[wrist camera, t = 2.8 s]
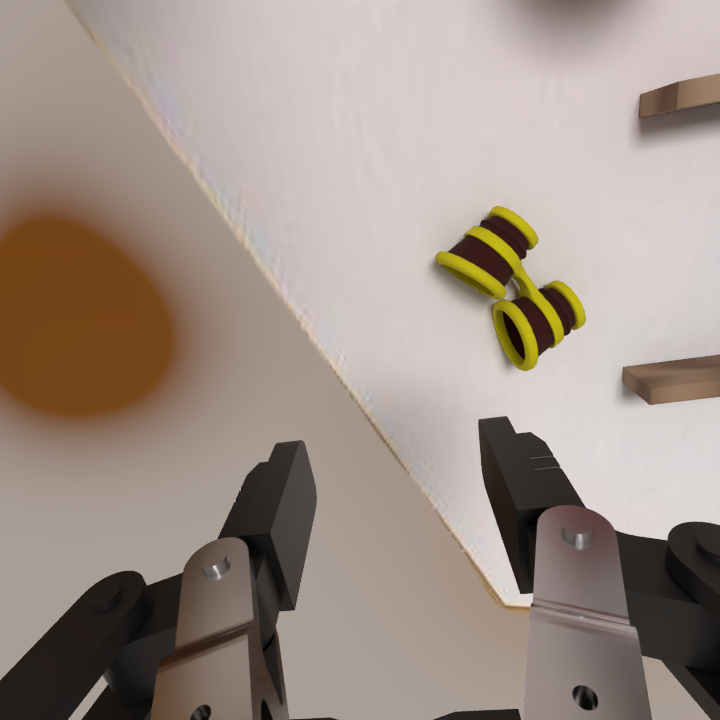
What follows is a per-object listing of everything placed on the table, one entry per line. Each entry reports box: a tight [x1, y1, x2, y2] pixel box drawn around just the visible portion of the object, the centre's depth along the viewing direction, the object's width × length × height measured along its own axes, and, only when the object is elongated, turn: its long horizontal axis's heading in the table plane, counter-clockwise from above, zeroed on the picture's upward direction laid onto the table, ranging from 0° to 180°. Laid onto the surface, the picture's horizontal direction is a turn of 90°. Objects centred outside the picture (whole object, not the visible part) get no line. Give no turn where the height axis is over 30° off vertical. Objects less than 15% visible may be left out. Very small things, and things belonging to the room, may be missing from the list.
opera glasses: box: [435, 206, 586, 371], centre depth 28 cm, size 10×5×5 cm, turn 39°
